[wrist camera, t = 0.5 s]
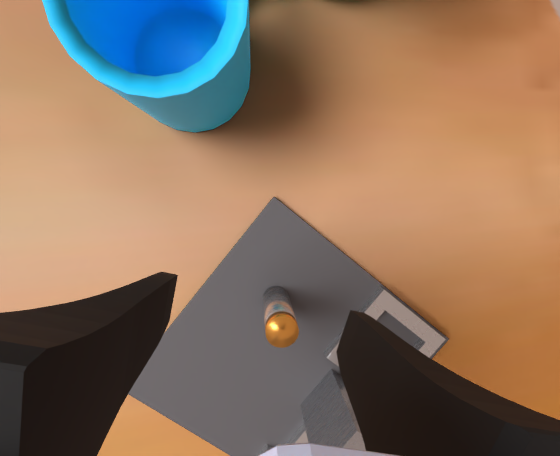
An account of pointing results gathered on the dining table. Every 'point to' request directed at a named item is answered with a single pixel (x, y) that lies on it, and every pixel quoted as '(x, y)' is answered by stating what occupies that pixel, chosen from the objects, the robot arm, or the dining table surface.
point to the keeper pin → (279, 317)
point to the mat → (258, 337)
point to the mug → (163, 54)
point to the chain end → (332, 393)
